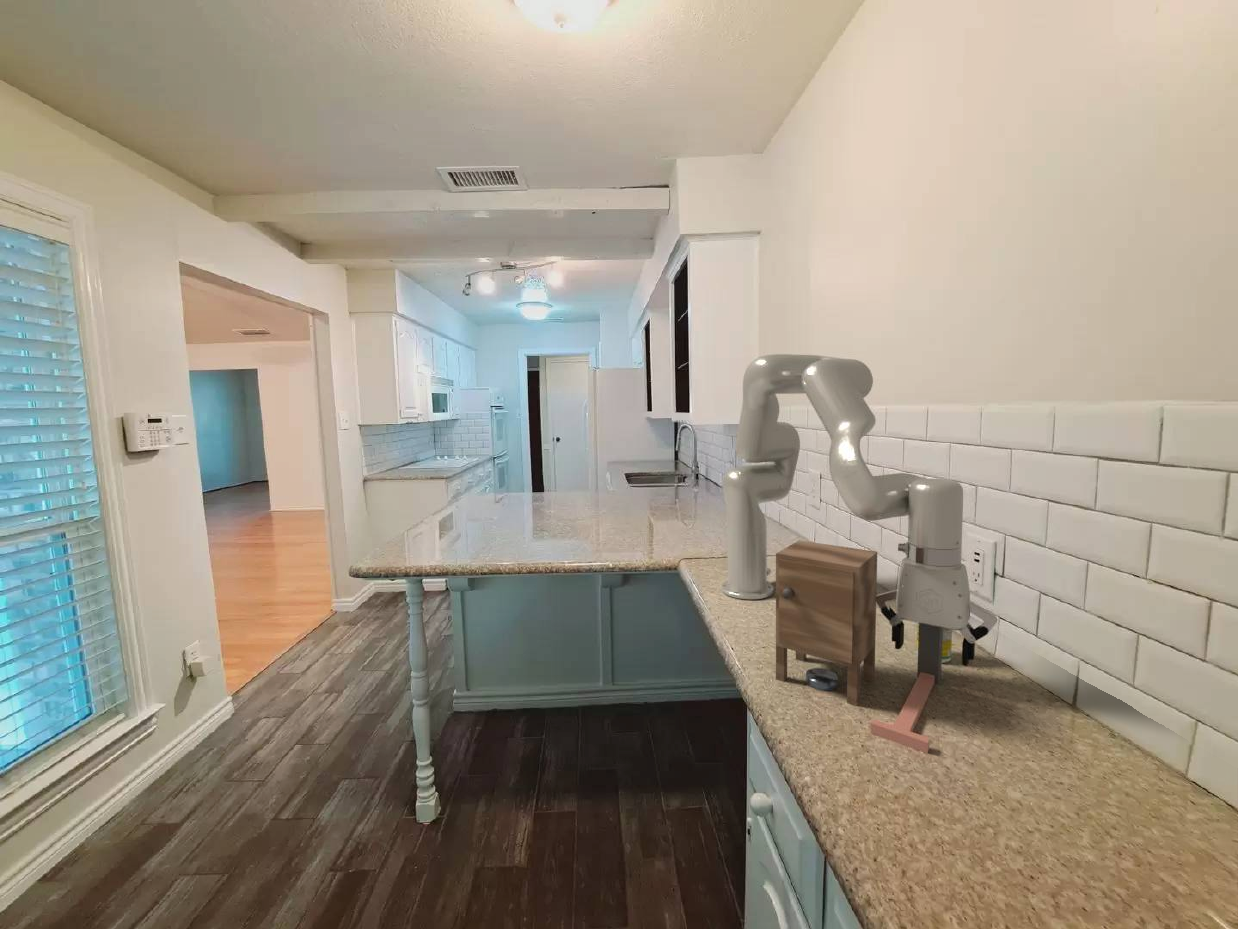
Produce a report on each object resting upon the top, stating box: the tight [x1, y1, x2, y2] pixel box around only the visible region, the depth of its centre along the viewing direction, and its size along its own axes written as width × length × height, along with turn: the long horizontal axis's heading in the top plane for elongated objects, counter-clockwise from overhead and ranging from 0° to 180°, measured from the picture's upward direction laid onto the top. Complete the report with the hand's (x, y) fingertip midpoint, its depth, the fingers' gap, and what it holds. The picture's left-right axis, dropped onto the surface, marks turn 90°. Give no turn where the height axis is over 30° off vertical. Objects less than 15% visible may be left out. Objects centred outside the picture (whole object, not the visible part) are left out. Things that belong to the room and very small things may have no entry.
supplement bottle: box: [916, 623, 953, 664], centre depth 93 cm, size 5×5×10 cm
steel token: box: [805, 667, 839, 692], centre depth 86 cm, size 5×5×2 cm
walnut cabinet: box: [775, 540, 878, 706], centre depth 85 cm, size 12×13×22 cm
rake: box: [870, 623, 943, 754], centre depth 78 cm, size 23×7×10 cm, turn 139°
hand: (931, 654), depth 86 cm, fingers open, 9 cm apart
